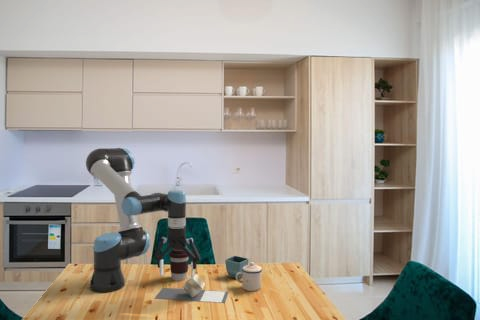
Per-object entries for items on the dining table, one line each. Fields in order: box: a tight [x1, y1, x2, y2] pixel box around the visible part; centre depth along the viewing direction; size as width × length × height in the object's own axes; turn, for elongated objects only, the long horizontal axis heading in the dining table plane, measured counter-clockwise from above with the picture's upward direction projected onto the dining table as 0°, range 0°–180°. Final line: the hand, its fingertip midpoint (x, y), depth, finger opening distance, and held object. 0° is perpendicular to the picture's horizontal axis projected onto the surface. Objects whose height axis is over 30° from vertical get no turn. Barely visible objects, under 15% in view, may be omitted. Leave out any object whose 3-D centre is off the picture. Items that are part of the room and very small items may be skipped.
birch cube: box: [182, 273, 206, 298], centre depth 166 cm, size 6×6×6 cm
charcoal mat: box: [153, 287, 230, 304], centre depth 166 cm, size 30×12×1 cm, turn 84°
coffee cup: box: [168, 248, 190, 282], centre depth 186 cm, size 10×10×15 cm
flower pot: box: [224, 255, 250, 280], centre depth 191 cm, size 9×9×9 cm
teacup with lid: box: [235, 261, 263, 292], centre depth 177 cm, size 12×9×12 cm
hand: (177, 275), depth 166 cm, fingers open, 13 cm apart
